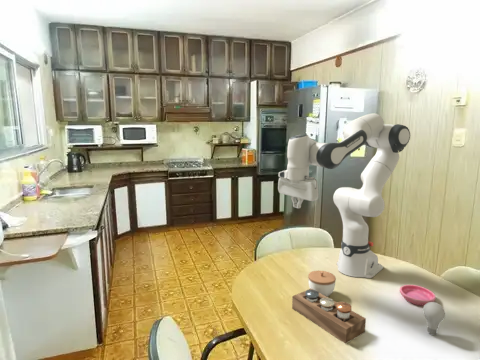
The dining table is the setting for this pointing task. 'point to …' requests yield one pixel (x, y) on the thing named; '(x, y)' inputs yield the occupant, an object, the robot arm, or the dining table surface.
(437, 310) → the lightbulb
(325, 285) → the lidded jar
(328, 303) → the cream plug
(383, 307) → the dining table surface
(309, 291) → the grey-lidded spice jar
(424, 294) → the saucer
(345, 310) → the copper-lid spice jar
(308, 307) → the socket board
